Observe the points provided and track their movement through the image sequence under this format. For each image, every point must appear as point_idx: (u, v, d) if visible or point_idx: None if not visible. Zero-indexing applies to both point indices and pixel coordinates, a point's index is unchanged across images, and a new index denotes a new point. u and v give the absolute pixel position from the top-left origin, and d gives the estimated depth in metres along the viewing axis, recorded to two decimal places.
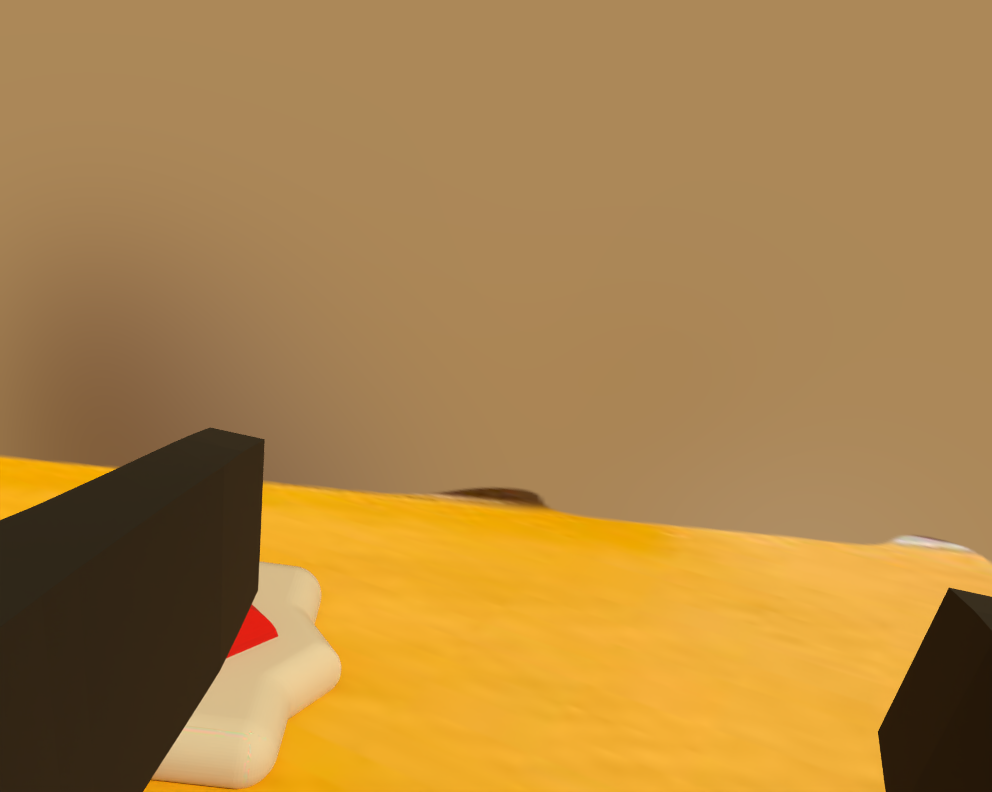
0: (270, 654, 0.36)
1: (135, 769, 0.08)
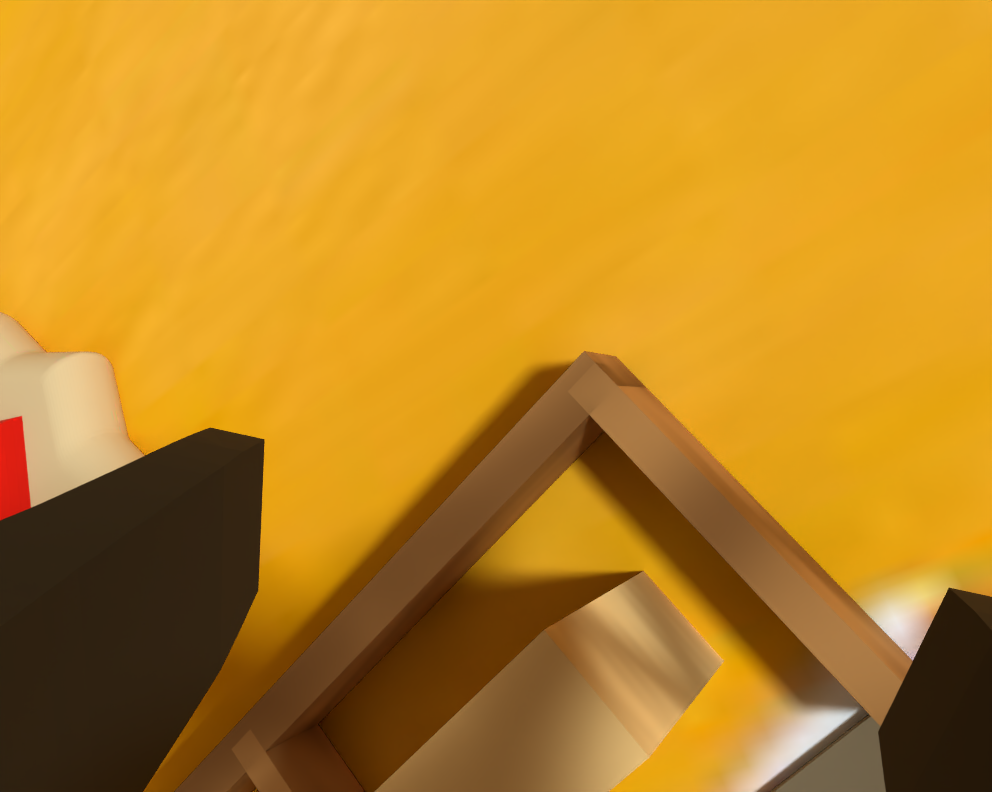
0: (39, 438, 0.30)
1: (137, 770, 0.08)
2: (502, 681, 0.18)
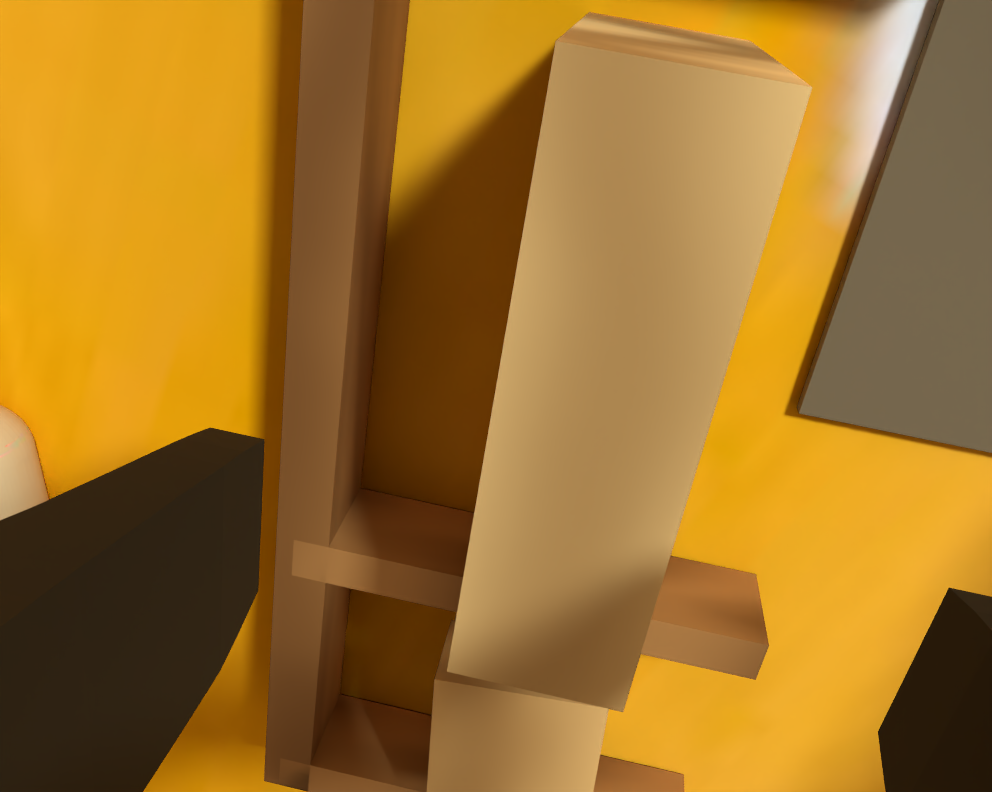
0: None
1: (136, 771, 0.08)
2: (548, 165, 0.11)
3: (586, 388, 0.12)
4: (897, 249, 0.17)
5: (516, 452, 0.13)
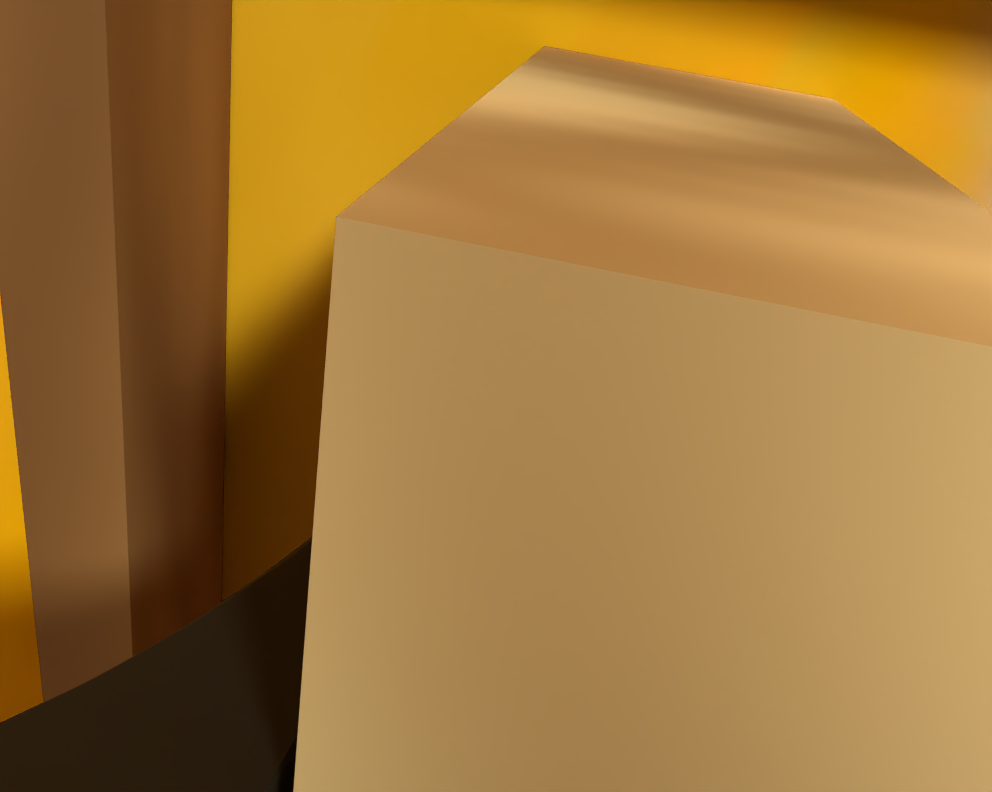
0: None
1: None
2: (355, 563, 0.04)
3: None
4: None
5: None
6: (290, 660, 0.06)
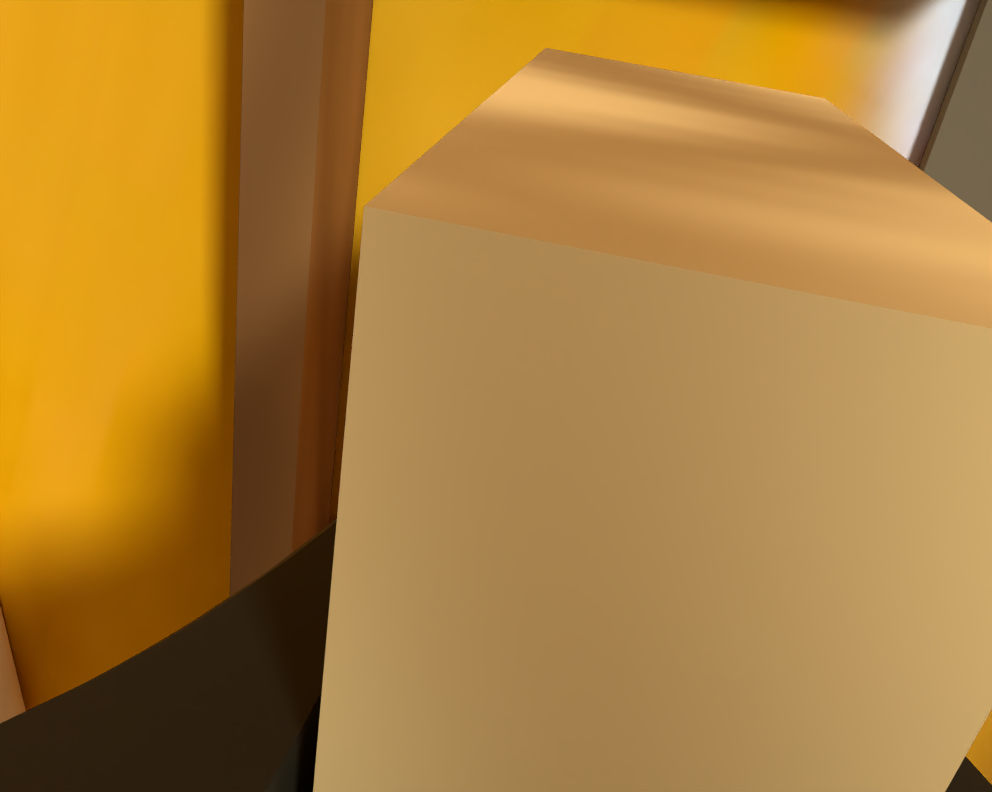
0: None
1: None
2: (377, 525, 0.04)
3: None
4: None
5: None
6: (290, 662, 0.06)
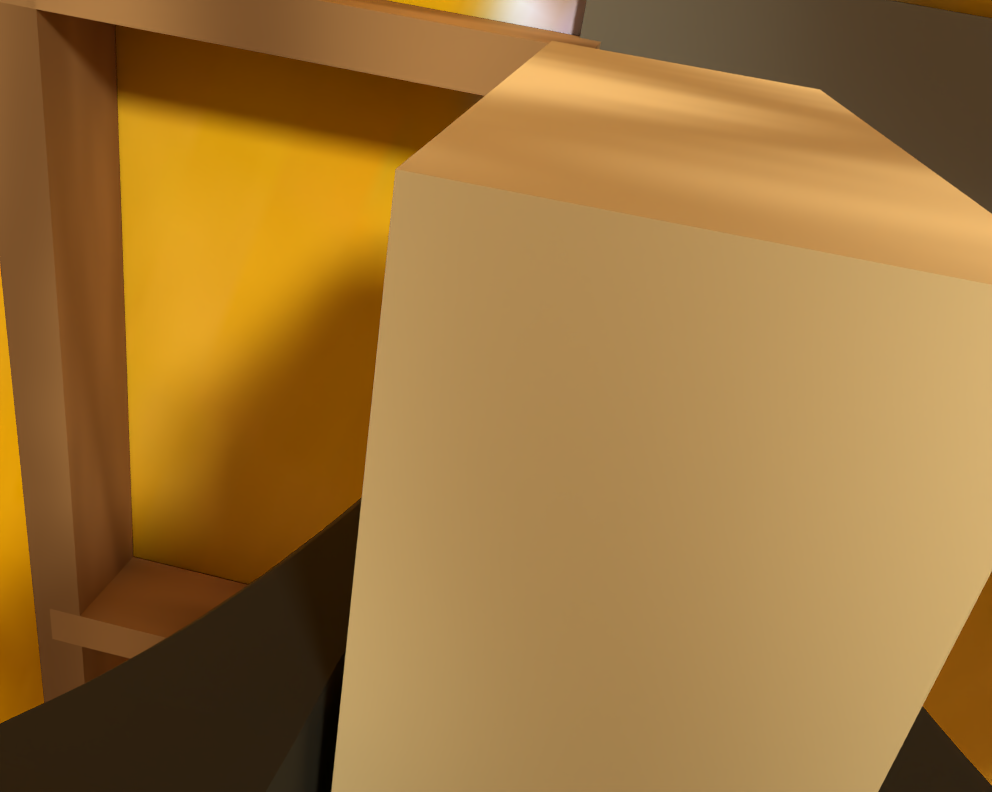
0: None
1: None
2: (400, 465, 0.04)
3: None
4: None
5: None
6: (290, 662, 0.06)
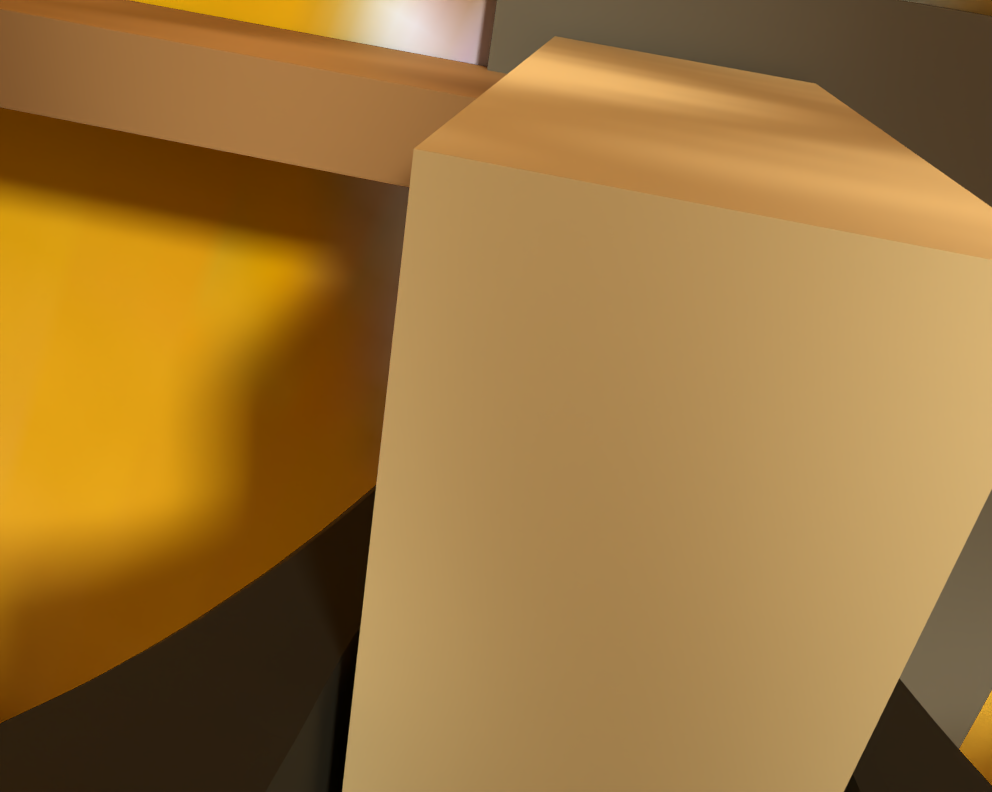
0: None
1: None
2: (417, 430, 0.05)
3: None
4: None
5: None
6: (290, 662, 0.06)
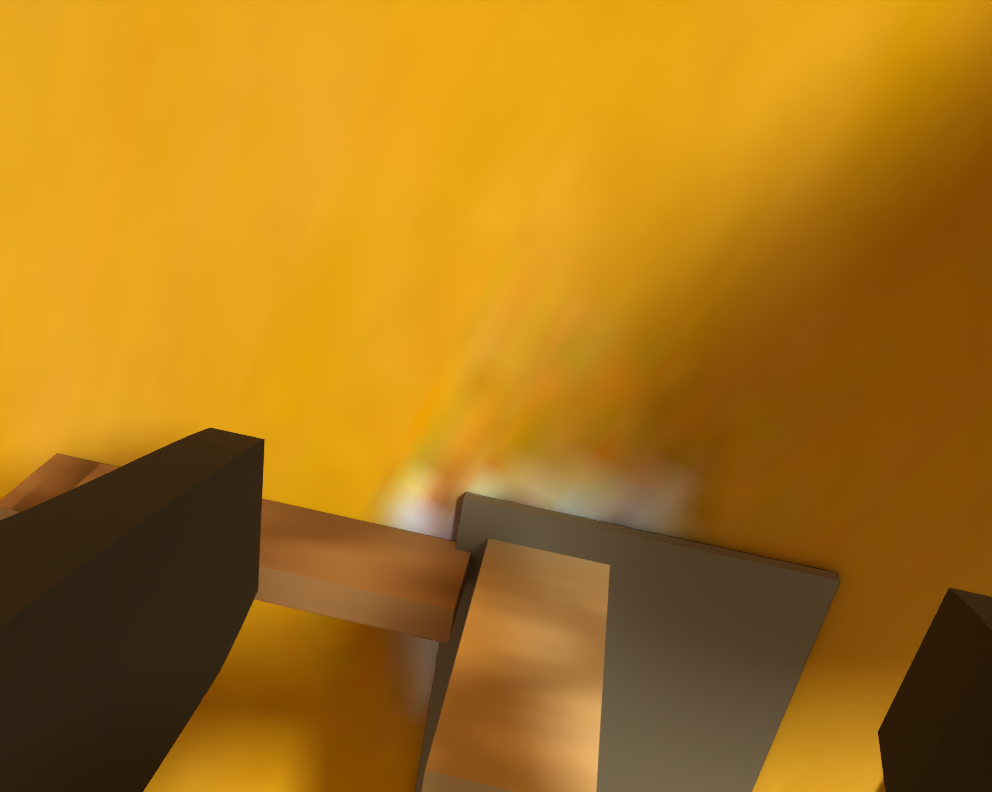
0: None
1: (135, 770, 0.08)
2: None
3: None
4: None
5: None
6: None
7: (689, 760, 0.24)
